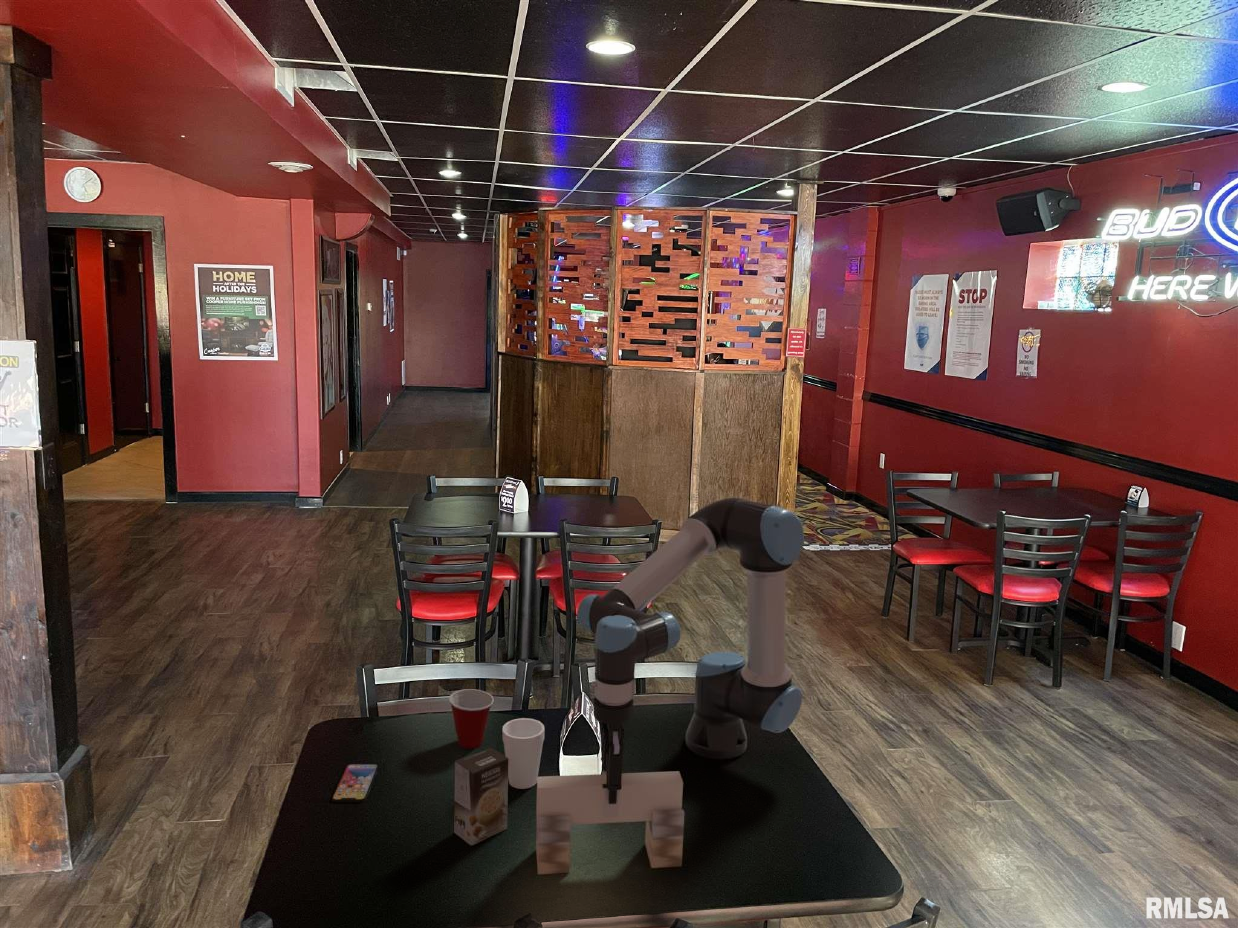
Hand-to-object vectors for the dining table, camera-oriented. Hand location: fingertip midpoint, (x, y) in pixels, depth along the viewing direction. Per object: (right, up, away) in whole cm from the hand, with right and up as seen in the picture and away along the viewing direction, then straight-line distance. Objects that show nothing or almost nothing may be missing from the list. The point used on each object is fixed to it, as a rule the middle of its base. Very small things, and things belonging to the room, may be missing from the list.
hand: (609, 808), depth 173 cm
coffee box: (-27, -8, +10) cm, 29 cm away
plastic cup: (-34, -1, +44) cm, 56 cm away
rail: (0, -2, 0) cm, 2 cm away
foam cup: (-20, -5, +28) cm, 35 cm away
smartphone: (-57, -5, +25) cm, 62 cm away
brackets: (0, -11, +2) cm, 11 cm away
